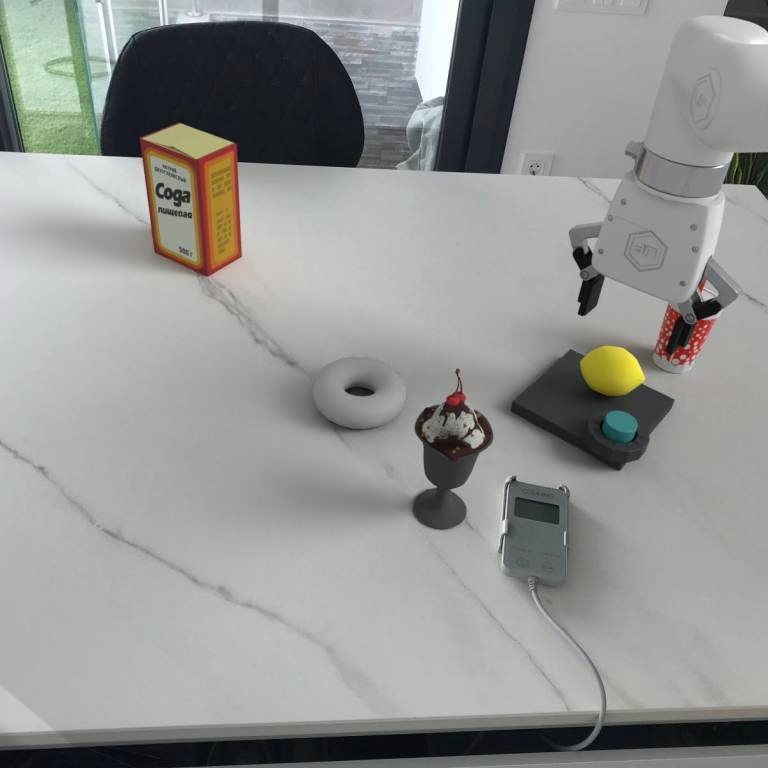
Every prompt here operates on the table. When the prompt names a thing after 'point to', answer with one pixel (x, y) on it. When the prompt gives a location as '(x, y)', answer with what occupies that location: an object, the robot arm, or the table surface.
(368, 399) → the donut
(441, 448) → the sundae
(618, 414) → the button
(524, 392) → the scale
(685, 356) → the beverage cup
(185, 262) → the baking soda box
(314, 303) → the table surface
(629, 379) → the lemon
